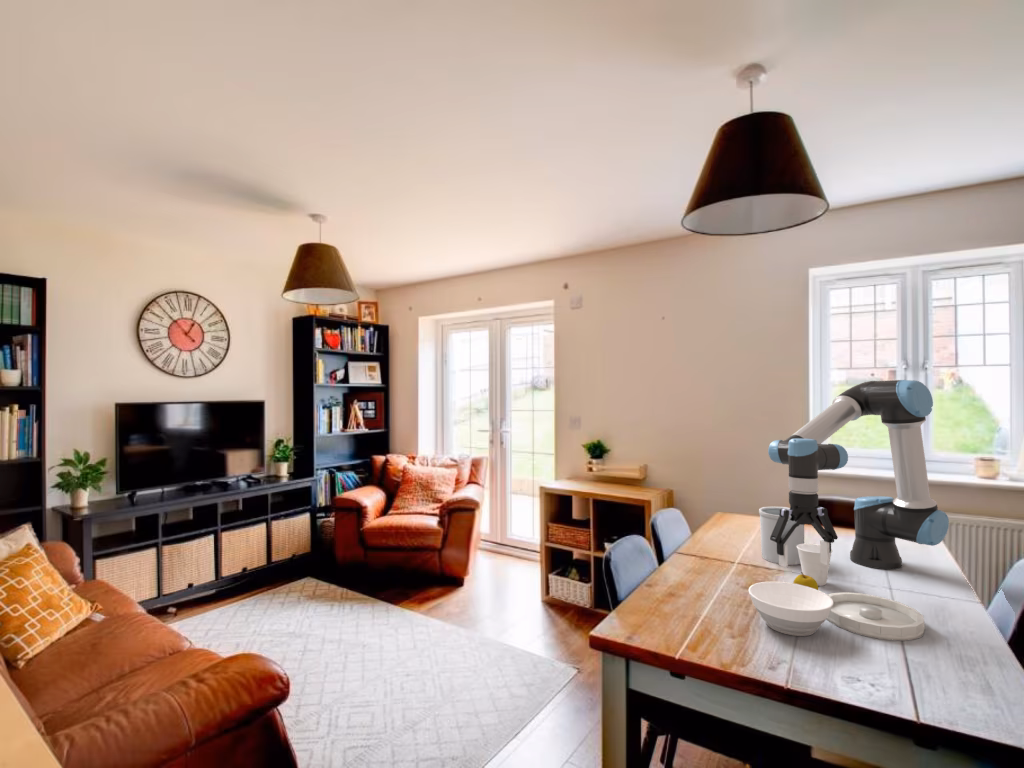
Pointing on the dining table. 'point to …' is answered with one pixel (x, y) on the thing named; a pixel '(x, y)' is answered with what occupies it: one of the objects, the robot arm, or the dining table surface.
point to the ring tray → (880, 629)
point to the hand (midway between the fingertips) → (804, 565)
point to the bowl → (791, 607)
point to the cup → (813, 563)
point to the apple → (806, 581)
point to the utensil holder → (770, 547)
